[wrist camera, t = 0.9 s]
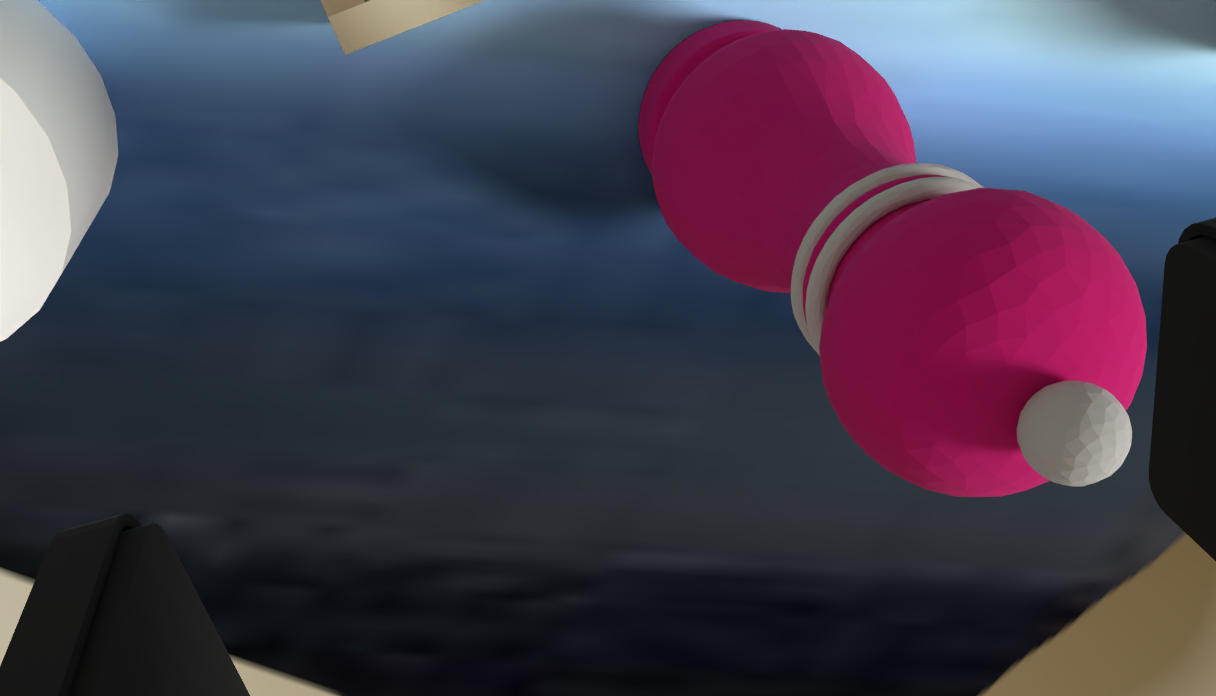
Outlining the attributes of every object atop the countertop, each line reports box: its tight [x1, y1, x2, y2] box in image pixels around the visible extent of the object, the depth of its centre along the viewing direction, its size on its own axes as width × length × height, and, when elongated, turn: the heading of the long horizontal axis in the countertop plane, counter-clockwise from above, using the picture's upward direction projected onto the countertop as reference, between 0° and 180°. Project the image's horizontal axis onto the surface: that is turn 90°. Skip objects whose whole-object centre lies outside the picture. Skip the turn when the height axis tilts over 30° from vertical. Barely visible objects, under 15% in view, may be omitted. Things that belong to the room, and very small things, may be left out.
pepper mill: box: [639, 20, 1147, 497], centre depth 26 cm, size 7×7×20 cm
